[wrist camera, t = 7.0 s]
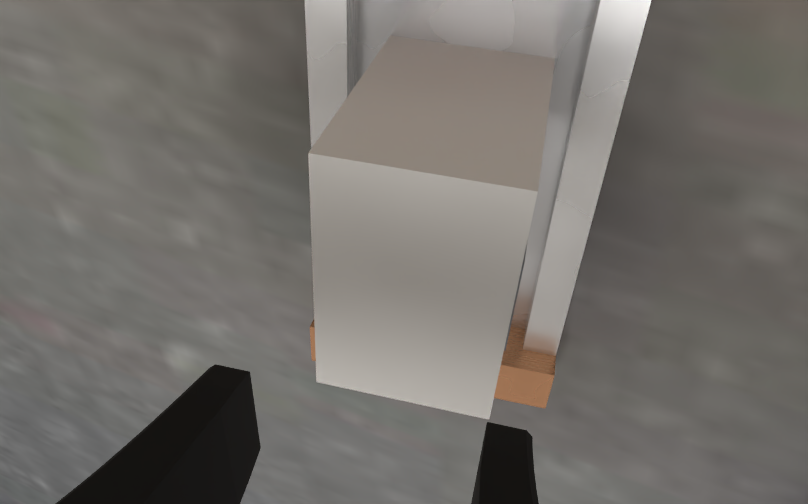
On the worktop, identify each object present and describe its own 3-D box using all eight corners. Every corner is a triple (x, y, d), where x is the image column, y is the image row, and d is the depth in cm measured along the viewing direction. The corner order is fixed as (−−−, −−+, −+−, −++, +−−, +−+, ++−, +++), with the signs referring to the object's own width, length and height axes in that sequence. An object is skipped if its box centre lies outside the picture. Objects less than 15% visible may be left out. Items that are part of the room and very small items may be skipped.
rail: (548, 361, 22) (540, 468, 19) (330, 319, 23) (287, 413, 20) (689, -177, 13) (721, -149, 10) (316, -205, 14) (230, -189, 11)
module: (516, 257, 19) (491, 419, 15) (379, 232, 20) (314, 381, 15) (556, 58, 16) (540, 191, 11) (388, 35, 16) (305, 152, 12)
